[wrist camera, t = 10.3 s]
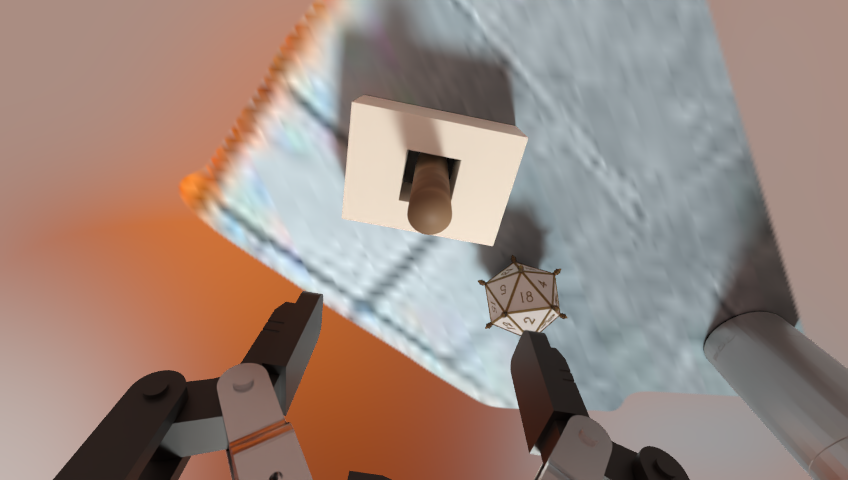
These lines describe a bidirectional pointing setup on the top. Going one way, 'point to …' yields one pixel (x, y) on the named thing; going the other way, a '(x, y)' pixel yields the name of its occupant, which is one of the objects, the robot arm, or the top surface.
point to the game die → (522, 298)
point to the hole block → (439, 135)
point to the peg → (430, 195)
